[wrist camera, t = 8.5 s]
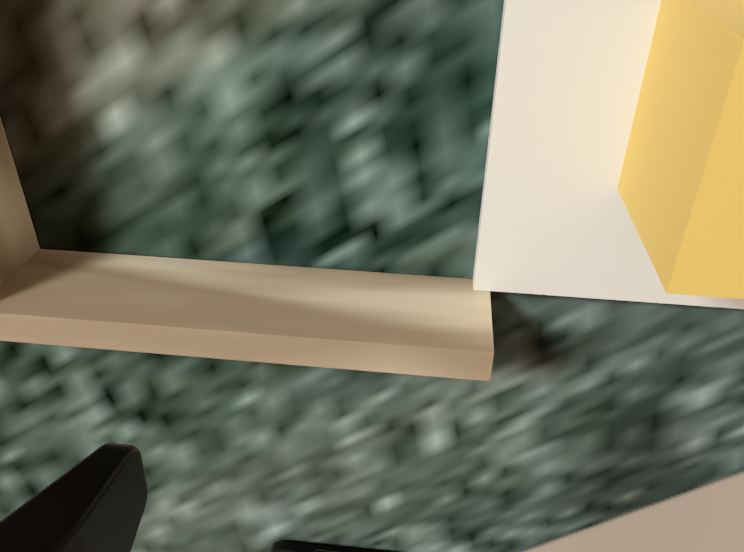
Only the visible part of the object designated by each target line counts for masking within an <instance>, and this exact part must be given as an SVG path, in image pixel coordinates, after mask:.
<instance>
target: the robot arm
mask: <svg viewBox="0 0 744 552" xmlns="http://www.w3.org/2000/svg"><path fill="white" fill-rule="evenodd" d="M146 501H147V483H146V478H145V473H144V468H143V463H142V458H141V454H140V451H139V449H138V448H137V447H136V446H133V445H124V444H116V443H108V444H105V445H103V446H101V447H100V448H98V449H97V450H95V451H94V452H93V453H91V454H90V455H89V456H87V457H86V458H85V459H83V460H82V461H81V462H79V463H78V464H77V465H75V466H74V467H73V468H71V469H70V470H69V471H67V472H66V473H65V474H63V475H62V476H61V477H59V478H58V479H57V480H55V481H54V482H53V483H51V484H50V485H49V486H47V487H46V488H45V489H43V490H42V491H41V492H39V493H38V494H37V495H35V496H34V497H33V498H31V499H30V500H29V501H27V502H26V503H25V504H23V505H22V506H21V507H19V508H18V509H17V510H15V511H14V512H12V513H11V514H10V515H8V516H7V517H6V518H4V519H3V520H2V521H0V552H130V551H131V548H132V545H133V542H134V539H135V536H136V533H137V530H138V527H139V524H140V521H141V518H142V515H143V512H144V509H145V505H146ZM271 552H380V551H371V550H362V549H352V548H343V547H334V546H324V545H315V544H305V543H296V542H287V541H278V542H275V543H274V544H273V545H272V549H271Z"/></svg>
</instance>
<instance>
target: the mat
mask: <svg viewBox="0 0 744 552" xmlns="http://www.w3.org/2000/svg"><path fill="white" fill-rule="evenodd" d="M660 4H661V0H504V6H503V15H502V24H501V33H500V42H499V51H498V60H497V69H496V78H495V86H494V95H493V104H492V113H491V122H490V131H489V140H488V149H487V158H486V166H485V175H484V184H483V193H482V202H481V211H480V220H479V229H478V237H477V246H476V255H475V264H474V273H473V290H482V291H496V292H510V293H524V294H538V295H552V296H566V297H580V298H594V299H608V300H622V301H636V302H650V303H664V304H678V305H692V306H706V307H720V308H734V309H744V299H736V298H722V297H708V296H694V295H680V294H666V292H665V290H664V288H663V285H662V283H661V281H660V279H659V277H658V275H657V273H656V270H655V268H654V266H653V264H652V262H651V260H650V258H649V255H648V253H647V251H646V249H645V247H644V245H643V243H642V241H641V238H640V236H639V234H638V232H637V230H636V228H635V226H634V223H633V221H632V219H631V217H630V215H629V213H628V211H627V208H626V206H625V204H624V202H623V200H622V198H621V196H620V193H619V191H618V189H617V188H618V184H619V179H620V175H621V171H622V166H623V162H624V158H625V154H626V149H627V145H628V141H629V136H630V132H631V128H632V124H633V119H634V115H635V111H636V106H637V102H638V98H639V94H640V89H641V85H642V81H643V77H644V72H645V68H646V64H647V59H648V55H649V51H650V47H651V42H652V38H653V34H654V29H655V25H656V21H657V17H658V12H659V8H660Z"/></svg>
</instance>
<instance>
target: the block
mask: <svg viewBox="0 0 744 552" xmlns="http://www.w3.org/2000/svg"><path fill="white" fill-rule="evenodd" d="M617 189H618V191H619V193H620V196H621V198H622V200H623V202H624V204H625V206H626V208H627V211H628V213H629V215H630V217H631V219H632V221H633V223H634V226H635V228H636V230H637V232H638V234H639V236H640V238H641V241H642V243H643V245H644V247H645V249H646V251H647V253H648V255H649V258H650V260H651V262H652V264H653V266H654V268H655V270H656V273H657V275H658V277H659V279H660V281H661V283H662V285H663V288H664V290H665V292H666V294H680V295H694V296H708V297H722V298H736V299H744V0H661V4H660V8H659V12H658V17H657V21H656V25H655V29H654V34H653V38H652V42H651V47H650V51H649V55H648V59H647V64H646V68H645V72H644V77H643V81H642V85H641V89H640V94H639V98H638V102H637V106H636V111H635V115H634V119H633V124H632V128H631V132H630V136H629V141H628V145H627V149H626V154H625V158H624V162H623V166H622V171H621V175H620V179H619V184H618V188H617Z"/></svg>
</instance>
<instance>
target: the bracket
mask: <svg viewBox="0 0 744 552" xmlns="http://www.w3.org/2000/svg"><path fill="white" fill-rule="evenodd" d="M0 340H1V341H13V342H25V343H37V344H49V345H61V346H73V347H85V348H97V349H109V350H121V351H133V352H145V353H157V354H169V355H181V356H193V357H205V358H217V359H229V360H241V361H253V362H265V363H277V364H289V365H301V366H313V367H325V368H338V369H350V370H362V371H374V372H386V373H398V374H410V375H422V376H434V377H446V378H458V379H470V380H482V381H490V378H491V371H492V364H493V357H494V342H493V328H492V313H491V299H490V291H482V290H473V279H465V278H451V277H436V276H422V275H408V274H393V273H379V272H365V271H351V270H336V269H322V268H308V267H293V266H279V265H265V264H250V263H236V262H222V261H208V260H193V259H179V258H165V257H150V256H136V255H122V254H108V253H93V252H79V251H65V250H50V249H40V247H39V243H38V240H37V237H36V233H35V230H34V227H33V223H32V220H31V217H30V213H29V210H28V207H27V203H26V200H25V197H24V193H23V190H22V187H21V183H20V180H19V177H18V173H17V170H16V167H15V163H14V160H13V157H12V153H11V150H10V147H9V143H8V140H7V137H6V133H5V130H4V127H3V123H2V120H1V117H0Z"/></svg>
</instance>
